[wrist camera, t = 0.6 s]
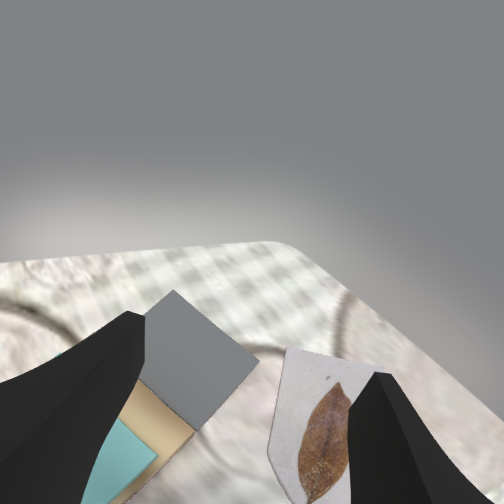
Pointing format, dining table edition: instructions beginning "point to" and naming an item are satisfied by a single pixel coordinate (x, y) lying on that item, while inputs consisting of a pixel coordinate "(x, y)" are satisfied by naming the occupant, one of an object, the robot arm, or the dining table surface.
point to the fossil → (315, 425)
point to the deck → (152, 433)
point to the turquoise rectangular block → (117, 464)
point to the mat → (191, 360)
